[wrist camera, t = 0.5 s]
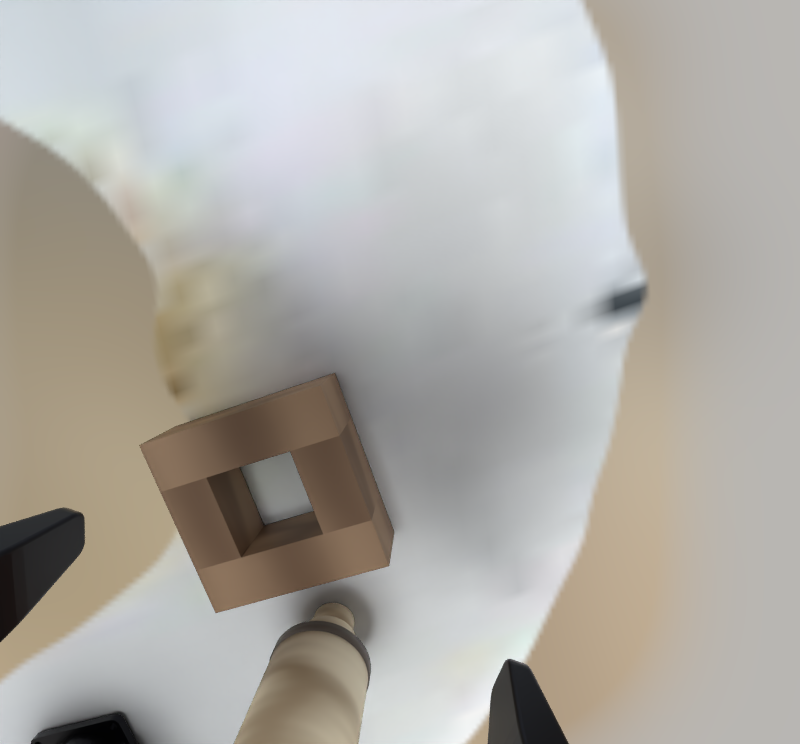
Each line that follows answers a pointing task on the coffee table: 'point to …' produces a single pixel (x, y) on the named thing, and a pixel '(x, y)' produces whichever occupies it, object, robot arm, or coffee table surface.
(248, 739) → the peg
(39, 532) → the robot arm
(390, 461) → the coffee table surface
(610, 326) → the coffee table surface
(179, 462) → the brown square frame
